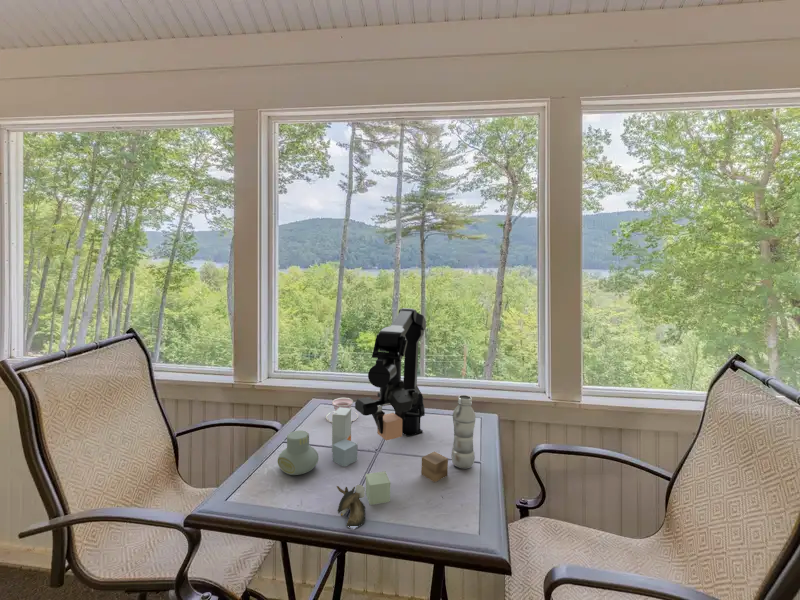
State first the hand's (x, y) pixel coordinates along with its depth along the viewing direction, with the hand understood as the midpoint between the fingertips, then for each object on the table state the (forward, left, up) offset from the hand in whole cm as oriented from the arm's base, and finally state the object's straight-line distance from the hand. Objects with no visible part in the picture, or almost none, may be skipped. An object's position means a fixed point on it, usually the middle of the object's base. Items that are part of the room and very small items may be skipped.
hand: (389, 431), depth 106 cm
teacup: (-3, -39, -11) cm, 41 cm away
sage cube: (+9, +10, -11) cm, 17 cm away
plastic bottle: (-19, +9, -11) cm, 24 cm away
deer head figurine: (+17, +13, -11) cm, 24 cm away
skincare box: (+7, -17, -11) cm, 21 cm away
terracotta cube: (0, 0, -1) cm, 1 cm away
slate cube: (+9, -10, -11) cm, 17 cm away
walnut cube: (-9, +9, -11) cm, 17 cm away
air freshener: (+22, -12, -11) cm, 27 cm away
